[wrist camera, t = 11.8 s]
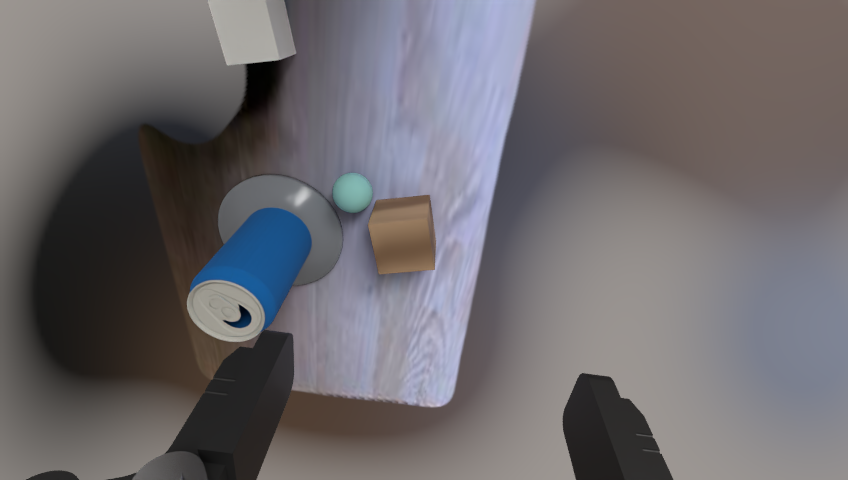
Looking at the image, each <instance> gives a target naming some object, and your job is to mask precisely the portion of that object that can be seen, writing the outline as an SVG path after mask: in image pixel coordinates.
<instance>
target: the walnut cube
mask: <svg viewBox="0 0 848 480" xmlns="http://www.w3.org/2000/svg"><path fill="white" fill-rule="evenodd" d="M368 227H369V232H370V236H371V241H372V246H373V250H374V255H375V259H376V264H377V268H378V273H379V274H388V273H400V272H412V271H424V270H435V252H436V238H435V231H434V223H433V216H432V209H431V201H430V195H423V196H413V197H404V198H394V199H384V200H376V203H375V206H374V209H373V212H372V214H371V217H370V220H369V223H368Z"/></svg>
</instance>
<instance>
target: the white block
mask: <svg viewBox="0 0 848 480" xmlns="http://www.w3.org/2000/svg"><path fill="white" fill-rule="evenodd" d="M207 2H208V5H209V8H210V11H211V15H212V18H213V21H214V25H215V28H216V31H217V35H218V38H219V41H220V44H221V48H222V51H223V55H224V58H225V61H226V65H227V66H228V65H238V64H247V63H257V62H266V61H275V60H281V59H284V58H286V57H289V56H292V55H294V54H296V50H295V46H294V41H293V37H292V33H291V28H290V24H289V19H288V15H287V10H286V6H285V2H284V0H207Z"/></svg>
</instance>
